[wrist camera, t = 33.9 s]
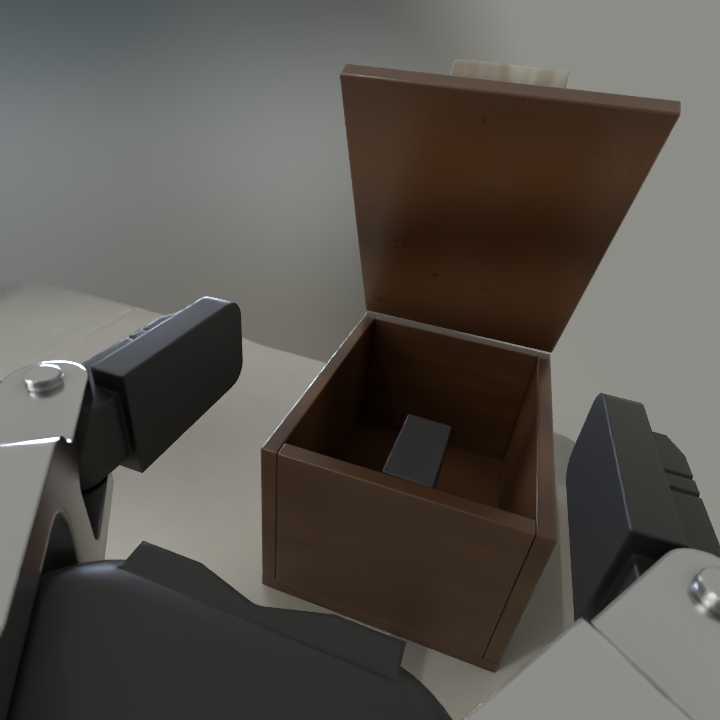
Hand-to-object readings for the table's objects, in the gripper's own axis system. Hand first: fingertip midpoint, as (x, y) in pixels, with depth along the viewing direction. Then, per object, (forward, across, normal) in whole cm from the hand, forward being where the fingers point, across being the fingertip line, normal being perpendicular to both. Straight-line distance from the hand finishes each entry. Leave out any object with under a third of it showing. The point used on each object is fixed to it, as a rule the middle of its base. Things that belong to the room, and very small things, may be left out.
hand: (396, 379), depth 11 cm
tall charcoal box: (+10, 0, +18) cm, 20 cm away
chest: (+13, 0, +19) cm, 23 cm away
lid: (+16, 0, +2) cm, 16 cm away
